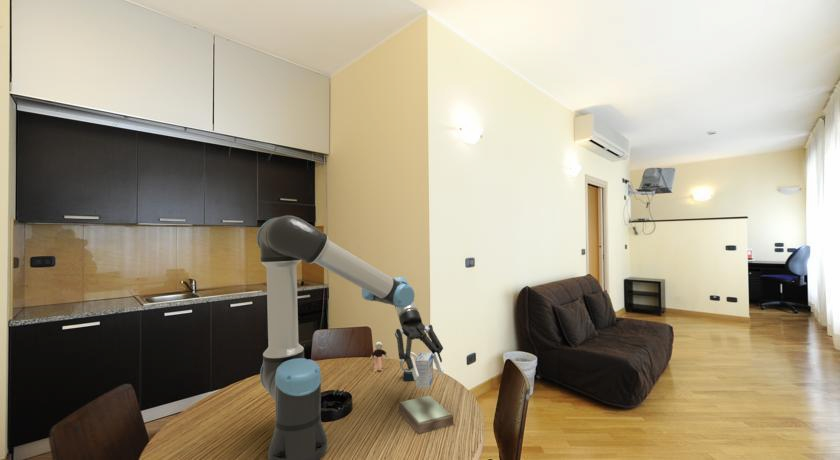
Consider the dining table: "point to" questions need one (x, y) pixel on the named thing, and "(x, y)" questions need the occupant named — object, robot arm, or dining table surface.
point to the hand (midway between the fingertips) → (429, 375)
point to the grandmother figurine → (378, 357)
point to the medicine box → (424, 370)
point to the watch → (407, 371)
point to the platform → (425, 414)
